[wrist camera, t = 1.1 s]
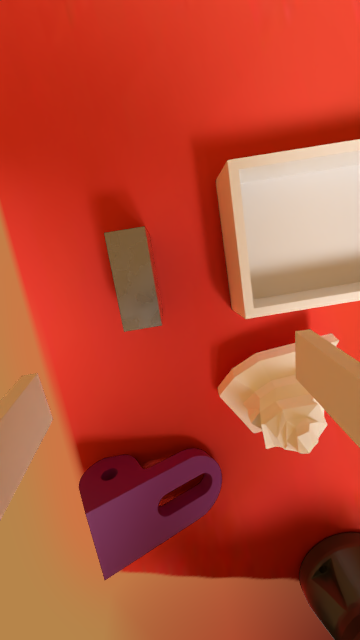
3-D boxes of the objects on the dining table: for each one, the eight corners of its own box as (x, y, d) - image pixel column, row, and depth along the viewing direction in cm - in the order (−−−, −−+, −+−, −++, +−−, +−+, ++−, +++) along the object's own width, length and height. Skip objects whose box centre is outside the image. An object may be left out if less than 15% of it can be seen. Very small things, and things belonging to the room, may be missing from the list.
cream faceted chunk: (323, 396, 43) (386, 489, 30) (223, 415, 44) (243, 511, 31) (321, 323, 37) (398, 399, 24) (208, 347, 38) (225, 430, 26)
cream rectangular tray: (394, 282, 38) (443, 286, 31) (231, 309, 38) (245, 319, 31) (392, 152, 35) (447, 125, 28) (215, 180, 35) (227, 160, 28)
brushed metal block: (163, 312, 38) (161, 325, 30) (133, 317, 38) (123, 331, 30) (149, 234, 36) (144, 226, 28) (118, 239, 36) (103, 232, 28)
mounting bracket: (186, 420, 47) (74, 471, 39) (216, 444, 40) (85, 513, 32) (196, 469, 49) (90, 528, 41) (226, 501, 42) (104, 580, 34)
